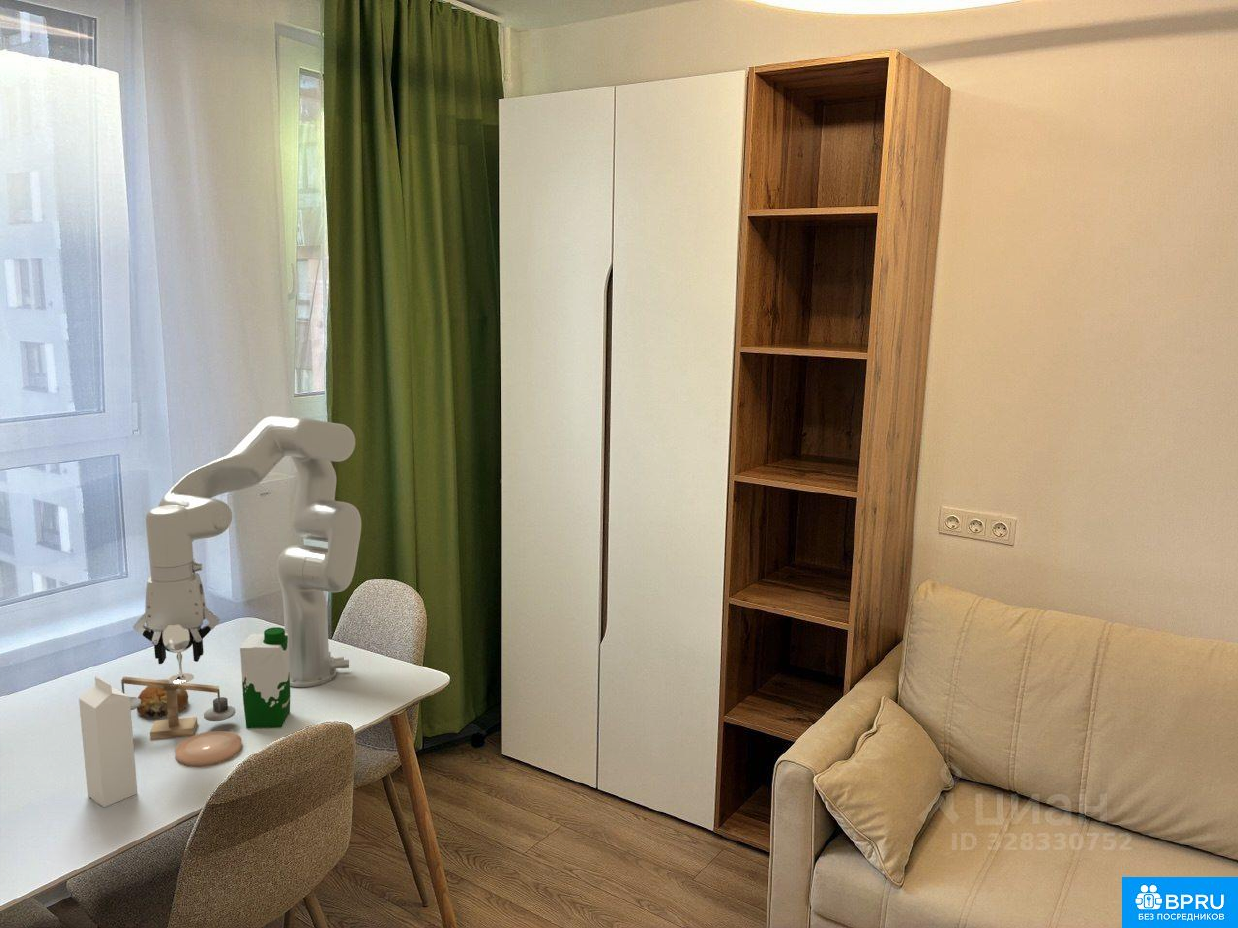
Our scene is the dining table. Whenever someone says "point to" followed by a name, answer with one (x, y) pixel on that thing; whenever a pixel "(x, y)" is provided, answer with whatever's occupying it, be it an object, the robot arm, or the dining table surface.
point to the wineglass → (177, 648)
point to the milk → (108, 744)
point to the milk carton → (266, 678)
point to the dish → (208, 748)
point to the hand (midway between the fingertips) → (179, 659)
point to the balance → (174, 724)
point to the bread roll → (159, 701)
